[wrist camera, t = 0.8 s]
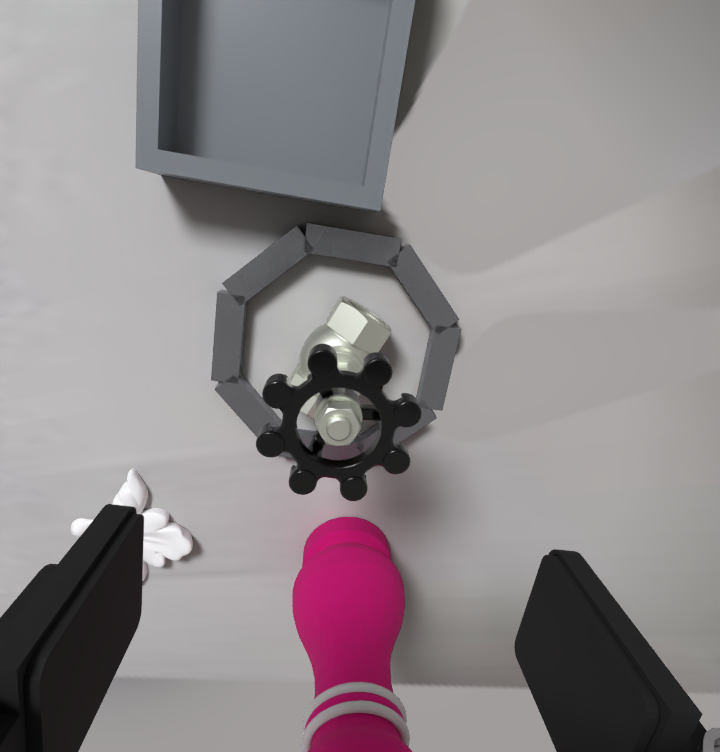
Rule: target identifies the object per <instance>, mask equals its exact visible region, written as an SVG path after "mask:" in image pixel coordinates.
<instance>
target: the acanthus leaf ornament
mask: <svg viewBox="0 0 720 752" xmlns="http://www.w3.org/2000/svg"><path fill="white" fill-rule="evenodd" d="M147 499H148V489H147V487H146V485H145V483H144V482H143V480H142V479H141V477H140V476H139V474H138V473H137V471H136V470H135V469H131V470H130V471H129V473H128V476H127V482H125V483H124V484H123V486H122V487H121V489H120V491H119V492H118V494H117V495H116V496H115V498H114V500H113V503H112V505H122V506H132V507H135V508H136V513H137V514H142V515H143V516H144V541H143V573H142V582H143V581H144V579H145V578H146V576H147V573H148V568H147V563H148V564H150V565H152V566H154V567H163V566H164V564H165V560H166V558H168V559H170V560H173V561H178V560H180V559H181V557H182V556H184V555H187V554H189V553H190V552H191V550H192V547H193V541H192V536H191V534H190V533H189V532H188V531H187V530H186V529H184V528H183V527H181V526H179V525H178V524H177V523H173V522H168V520H169V517H170V516H169V513H168V512H167V511H165V510H163V509H159V508H151V509H147V510H145V511H143V509H144V507H145V505H146V503H147ZM92 521H93V520H87V519H82V518H81V519H77V520H75V521H74V522H73V523H72V525H71V531H72V534H73V535H75V536H76V537H80V536H81V535H82V534H83V532H84V531H85V530H86V529H87V528H88V526H89V525H90V524H91V523H92ZM146 562H147V563H146Z"/></svg>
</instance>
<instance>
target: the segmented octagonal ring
mask: <svg viewBox="0 0 720 752" xmlns="http://www.w3.org/2000/svg"><path fill="white" fill-rule="evenodd" d="M400 245H401V239H399V238H393V237H388V236H382V235H376V234H370V233H364V232H358V231H352V230H346V229H340V228H335V227H329V226H323V225H317V224H311V223H307V227H306V236H305V235H304V233H303V232H302V231H301V229H300V228H299V226H298V225H297V226H295V227H294V228H293V229H292V230H290V231H289V232H288V233H286V234H285V235H284V236H283V237H281V238H280V239H279V240H277V241H276V242H275V243H274V244H272V245H271V246H270V247H268V248H267V249H266V250H264V251H263V252H262V253H261V254H259V255H258V256H257V257H255V258H254V259H253V260H252V261H250V262H249V263H248V264H246V265H245V266H244V267H243V268H241V269H240V270H239V271H237V272H236V273H235V274H234V275H232V276H231V277H230V278H228V279H227V280H226V281H224V282H223V283H222V284H223V285H224V286H225V288H226V289H227V290H228V291H225V290H220V291H219V292H217V304H216V318H215V332H214V346H213V361H212V375H211V380H213V381H221V382H220V383H218V385H217V386H216V387H215V390H216V392H217V393H218V394H219V395H220V396H221V397H222V398H223V399H224V401H225V402H226V403H227V404H228V405H229V406H230V407H231V408H232V409H233V411H234V412H235V413H236V414H237V415H238V416H239V417H240V418H241V420H242V421H243V422H244V423H245V424H246V425H247V426H248V427H249V429H250V430H251V431H252V432H253V433H254V434H255V435H256V436H257V438H258V435H259V432H260V429H261V428H262V427H263V426H264V425H265V424H267V423H271V427H278V426H280V425H281V423H282V421H281V419H280V418H279V417H278V416H277V415H276V414H275V412H274V411H273V410H272V409H271V408H270V407H269V406H268V405H267V404H266V403H265V401H264V400H263V398H262V397H261V396H260V395H259V394H258V393H257V391H256V390H255V389H254V388H253V387H252V386H251V384H250V383H249V382H248V381H247V380H246V379H245V377H244V376H243V375H242V374H241V369H242V358H243V346H244V335H245V324H246V313H247V302H248V300H249V299H250V298H251V297H253V296H254V295H255V294H256V293H258V292H259V291H260V290H262V289H263V288H264V287H266V286H267V285H268V284H270V283H271V282H272V281H274V280H275V279H276V278H278V277H279V276H280V275H281V274H283V273H284V272H285V271H287V270H288V269H289V268H291V267H292V266H293V265H295V264H296V263H297V262H299V261H300V260H301V259H302V258H304V257H305V256H306V255H308V254H309V253H311V254H317V255H323V256H329V257H336V258H342V259H348V260H354V261H360V262H366V263H372V264H378V265H385V266H390V268H391V269H392V271H393V272H394V274H395V275H396V277H397V278H398V279H399V281H400V282H401V284H402V285H403V287H404V288H405V290H406V291H407V293H408V294H409V296H410V297H411V298H412V300H413V301H414V303H415V304H416V306H417V307H418V309H419V310H420V312H421V313H422V315H423V316H424V318H425V319H426V320H427V322H428V323H429V325H430V326H431V330H430V335H429V340H428V344H427V349H426V354H425V358H424V363H423V368H422V373H421V377H420V382H419V387H418V391H417V396H416V400H417V402H418V404H419V406H420V408H421V411H422V416H421V419H420V421H419V422H418V423H417V424H416V425H414V426H412V427H402V426H401V427H399V428H397V429H396V431H395V433H394V438H393V442H394V443H395V444H399V442H402V441H403V440H405V439H406V438H408V437H409V436H411V435H412V434H414V433H415V432H417V431H418V430H420V429H421V428H423V427H424V426H426V425H427V424H429V423H430V422H432V421H433V420H435V419H436V418H437V417H436V415H435V414H434V412H433V410H432V409H435V410H442V409H443V405H444V400H445V396H446V392H447V388H448V383H449V379H450V375H451V370H452V365H453V362H454V357H455V353H456V349H457V344H458V340H459V336H460V332H461V329H460V328H459V327H458V326H456V325H453V324H454V323H456V322H457V321H458V320H459V318H458V317H457V315H456V314H455V312H454V311H453V309H452V308H451V306H450V305H449V303H448V302H447V300H446V298H445V297H444V295H443V294H442V292H441V291H440V289H439V288H438V286H437V285H436V283H435V282H434V280H433V279H432V277H431V276H430V274H429V273H428V271H427V270H426V268H425V267H424V265H423V263H422V262H421V260H420V259H419V257H418V256H417V254H416V253H415V251H414V250H413V248H412V247H411V245H409V244H407V245H405V246H404V247H403V248H401V249H400ZM379 428H380V427H379V423H377V424H376V425H374V426H373V427H372V428H370V429H369V430H367V431H366V432H364V433H363V434H361V435H360V436H356V437H355V439H354V440H353V441H352V442H351V444H350V445H344V446H335V445H327V444H326V443H325V445H324V447H323V450H322V457H323V458H327V459H331V460H345V459H350V458H352V457H355V456H358V455H359V454H361V453H363V452H364V451H366V450H367V449H368V448H369V447H370V446H371V445H372V444H373V442H374V441H375V439H376V437H377V434H378V431H379ZM297 430H298V433H299V436H300V438H301V440H302V442H303V443H304V444H305V446H306V447H307V448H308V447H309V445H310V443H311V440H312V438H313V437H314V435H315V433H316V431H309V430H301V429H297ZM279 456H283V457H291V458H293V457H292V456H291V455H290V454H289V453H285V452H283V453H281V454H280V455H279Z"/></svg>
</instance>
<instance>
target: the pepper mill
mask: <svg viewBox="0 0 720 752" xmlns="http://www.w3.org/2000/svg"><path fill="white" fill-rule="evenodd" d="M404 609H405V596H404V585H403V581H402V578H401V575H400V573H399V571H398V569H397V568H396V566H395V565H394V563H393V562H392V561H391V556H390V550H389V545H388V542H387V539H386V537H385V535H384V534H383V532H382V531H381V530H380V529H379V528H378V527H377V526H375V525H374V524H372V523H370V522H369V521H367V520H364V519H360V518H356V517H340V518H336V519H332V520H329V521H327V522H325V523H323V524H322V525H320V526H319V527H317V528H316V529H315V530H314V531H313V532H312V533H311V535H310V536H309V537H308V539H307V541H306V544H305V547H304V553H303V565H302V569H301V570H300V572H299V573H298V576H297V578H296V580H295V583H294V588H293V616H294V620H295V624H296V628H297V631H298V634H299V637H300V639H301V641H302V643H303V645H304V648H305V650H306V652H307V654H308V656H309V659H310V662H311V664H312V668H313V672H314V677H315V698H314V700H313V701H312V702H311V703H310V704H309V706H308V708H307V710H306V712H305V714H304V718H303V732H304V734H303V737H302V744H301V746H302V752H412V751H411V750H410V748H409V747H408V746H409V740H410V738H409V731H408V728H407V725H406V721H407V720H406V711H405V708H404V706H403V704H402V702H401V701H400V699H399V698H398V697H397V696H396V695H395V694H394V693H393V689H392V685H391V674H390V660H391V654H392V651H393V647H394V644H395V642H396V639H397V637H398V634H399V632H400V629H401V626H402V621H403V616H404Z"/></svg>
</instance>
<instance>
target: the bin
mask: <svg viewBox="0 0 720 752" xmlns="http://www.w3.org/2000/svg"><path fill="white" fill-rule="evenodd" d="M414 6H415V0H138V54H137V113H136V168H137V169H141V170H145V171H148V172H152V173H156V174H159V175H164V176H170V177H176V178H181V179H187V180H193V181H198V182H204V183H210V184H216V185H221V186H227V187H233V188H238V189H244V190H250V191H256V192H261V193H267V194H273V195H278V196H284V197H290V198H296V199H301V200H307V201H313V202H318V203H324V204H330V205H336V206H341V207H347V208H353V209H358V210H364V211H370V212H378V211H380V210H381V204H382V198H383V192H384V186H385V180H386V174H387V167H388V161H389V156H390V150H391V144H392V138H393V132H394V126H395V120H396V114H397V108H398V102H399V96H400V90H401V84H402V78H403V72H404V66H405V60H406V54H407V48H408V42H409V36H410V30H411V24H412V18H413V12H414Z"/></svg>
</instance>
